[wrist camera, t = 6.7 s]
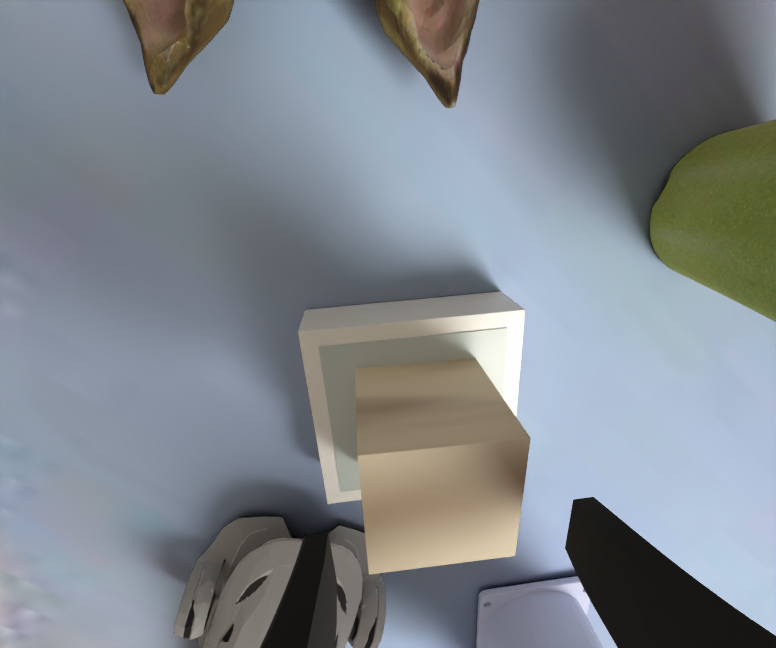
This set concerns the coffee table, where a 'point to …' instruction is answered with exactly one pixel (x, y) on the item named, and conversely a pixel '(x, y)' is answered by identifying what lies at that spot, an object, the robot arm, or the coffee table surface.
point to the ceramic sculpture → (393, 6)
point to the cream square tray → (398, 361)
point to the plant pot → (724, 216)
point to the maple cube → (437, 465)
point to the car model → (274, 586)
